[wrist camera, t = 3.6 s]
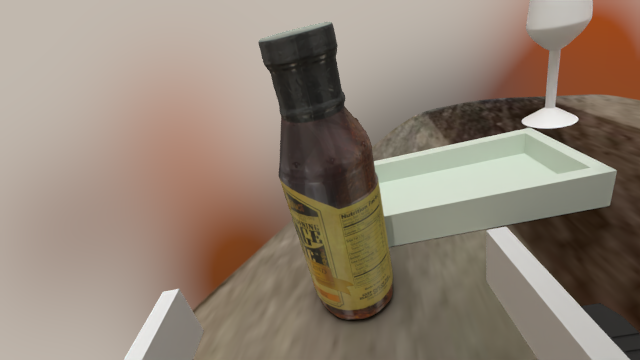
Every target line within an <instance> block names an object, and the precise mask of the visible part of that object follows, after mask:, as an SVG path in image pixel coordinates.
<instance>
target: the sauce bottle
mask: <svg viewBox="0 0 640 360" xmlns="http://www.w3.org/2000/svg"><path fill="white" fill-rule="evenodd" d="M259 46H260V50H261V54H262V59H263V62H264V65H265V66H266V67H267V69H268V70H269V71H270V73H271V76H272V80H273V85H274V89H275V91H276V95H277V98H278V102H279V106H280V114H281V141H280V142H281V143H280V167H279V178H280V181H281V184H282V187H283V190H284V194H285V197H286V200H287V203H288V206H289V209H290V212H291V215H292V218H293V222H294V225H295V228H296V231H297V234H298V237H299V240H300V243H301V246H302V249H303V252H304V255H305V258H306V261H307V264H308V267H309V271H310V274H311V277H312V280H313V283H314V286H315V289H316V292H317V294H318V296H319V297H320V299H321V301H322V303H323V304H324V305H325V307H326V308H327V309H328V310H329V311H330V312H331V313H333V314H335V315H336V316H337V317H339V318H341V319H346V320H350V319H364V318H367V317H370V316H372V315H374V314H376V313H377V312H379V311H380V310H381V309H382V308H383V307H385V306H386V304H387V303H388V302H389V301H390V299H391V296H392V280H393V273H392V266H391V259H390V253H389V246H388V239H387V232H386V226H385V219H384V213H383V207H382V200H381V193H380V187H379V181H378V176H377V174H376V172H375V166H374V160H373V153H372V146H371V142H370V139H369V137H368V135H367V133H366V131H365V130H364V129H363V127H362V126H361V125H360V123H359V122H358V120H357V119H356V118H354V117H353V116H352V114H351V113H350V112H349V111H348V110H347V109H346V108H345V106H344V101H345V95H344V93H343V92H342V89H341V84H340V79H339V73H338V68H337V62H336V53H337V43H336V37H335V32H334V28H333V24H332V23H331V22H324V23H319V24H315V25H310V26H307V27H303V28H298V29H294V30H291V31H286V32H282V33H279V34H276V35H272V36H269V37H266V38H262V39H260V40H259Z"/></svg>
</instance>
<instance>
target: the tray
mask: <svg viewBox="0 0 640 360" xmlns="http://www.w3.org/2000/svg"><path fill="white" fill-rule="evenodd" d="M374 166H375V172H376V174H377V176H378V181H379V187H380V193H381V200H382V207H383V213H384V219H385V226H386V232H387V239H388V246H389V247H392V246H397V245H402V244H408V243H413V242H418V241H424V240H429V239H435V238H440V237H445V236H451V235H456V234H461V233H467V232H472V231H477V230H483V229H488V228H493V227H499V226H504V225H509V224H515V223H520V222H526V221H531V220H536V219H542V218H547V217H552V216H558V215H563V214H568V213H574V212H579V211H584V210H590V209H595V208H601V207H606V206H610V203H611V198H612V193H613V188H614V183H615V178H616V173H617V170H615V169H613V168H611V167H609V166H607V165H605V164H603V163H601V162H599V161H597V160H595V159H593V158H591V157H589V156H586V155H584V154H582V153H580V152H578V151H576V150H574V149H572V148H570V147H568V146H566V145H564V144H562V143H560V142H558V141H556V140H554V139H552V138H550V137H548V136H546V135H544V134H542V133H540V132H538V131H536V130H534V129H532V128H527V129H522V130H517V131H513V132H508V133H504V134H499V135H494V136H490V137H485V138H480V139H476V140H471V141H466V142H462V143H457V144H453V145H448V146H443V147H439V148H434V149H429V150H425V151H420V152H415V153H411V154H406V155H402V156H397V157H392V158H388V159H383V160H378V161H374Z"/></svg>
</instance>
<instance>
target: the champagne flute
mask: <svg viewBox="0 0 640 360" xmlns="http://www.w3.org/2000/svg"><path fill="white" fill-rule="evenodd" d="M592 6H593V0H530V4H529V11H528V18H527V24H526V30H527V32H528V34H529V36H530V37H531V38H532V39H533V40H534V41H535V42H536V43H538V44H539V45H540V46H542V47H543V48H545V49H547V50H550V53H549V64H548V76H547V89H546V101H545V107H544V108H542V109H540V110H538V111H537V112H535V113H533V114H531V115H529V116H527V117H525V118H523V119H522V123H523V124H524V125H526V126H529V127H534V128H560V127H565V126H569V125H572V124H574V123H576V122H577V121H578V117H577V116H575V115H573V114H571V113H568V112H566V111H564V110H562V109H559V108H557V107H555V103H556V92H557V82H558V70H559V61H560V60H559V59H560V50H561V48H563V47H564V46H566V45H568V44H569V43H570V42H571V41H572V40H573V39H574V38H575V37H577V36H578V35H579V34H580V33H581V32H582V31H583V30H584V28H585V27H586V26H587V25H588V23H589V22H590V20H591V18H592Z"/></svg>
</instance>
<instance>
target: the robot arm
mask: <svg viewBox="0 0 640 360" xmlns="http://www.w3.org/2000/svg"><path fill="white" fill-rule="evenodd" d="M486 281H487V283H488V284H489V286H490V287H491V289H492V290H493V292H494V294H495V295H496V297H497V298H498V300H499V301H500V303H501V304H502V306H503V307H504V309H505V310H506V312H507V313H508V315H509V316H510V318H511V319H512V321H513V322H514V324H515V326H516V327H517V329H518V330H519V332H520V333H521V335H522V336H523V338H524V339H525V341H526V342H527V344H528V345H529V347H530V348H531V350H532V351H533V353H534V354H535V356H536V357H537V359H538V360H640V334H639V332H638V331H637V330H636V329H635V328H634V327H633V326H632V325H631V324H630V323H629V322H628V321H627V320H626V319H624V318H623V317H622V316H621V315H619V314H618V313H616V312H614V311H612V310H611V309H609V308H607V307H606V306H604V305H602V304H601V303H598V304H592V305H586V306H580V305H579V304H578V303H577V302H576V301H575V300H574V299H573V298H572V297H571V296H570V295H569V294H568V293H567V291H566V290H565V289H564V288H563V287H562V286H561V285H560V284H559V283H558V282H557V281H556V280H555V279H554V277H553V276H552V275H551V274H550V273H549V272H548V271H547V270H546V269H545V268H544V267H543V266H542V265H541V264H540V262H539V261H538V260H537V259H536V258H535V257H534V256H533V255H532V254H531V253H530V252H529V251H528V250H527V249H526V247H525V246H524V245H523V244H522V243H521V242H520V241H519V240H518V239H517V238H516V237H515V236H514V235H513V233H512V232H511V231H510V230H509V229H508V228H507V227H502V228H496V229H491V230H486ZM203 331H204V330H203V328H202V327H201V325H200V323H199V321H198V320H197V318H196V316H195V315H194V313H193V311H192V310H191V308H190V306H189V304H188V303H187V301H186V299H185V298H184V296H183V294H182V293H181V291H180V289H175V290H170V291H165V292H163V293H162V295H161V296H160V298H159V300H158V301H157V303H156V305H155V307H154V308H153V310H152V312H151V313H150V315H149V317H148V319H147V320H146V322H145V324H144V325H143V327H142V329H141V331H140V332H139V334H138V336H137V338H136V339H135V341H134V343H133V344H132V346H131V348H130V350H129V352H128V353H127V355H126V357H125V358H124V360H193V358H194V356H195V353H196V350H197V348H198V345H199V342H200V340H201V337H202V334H203Z"/></svg>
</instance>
